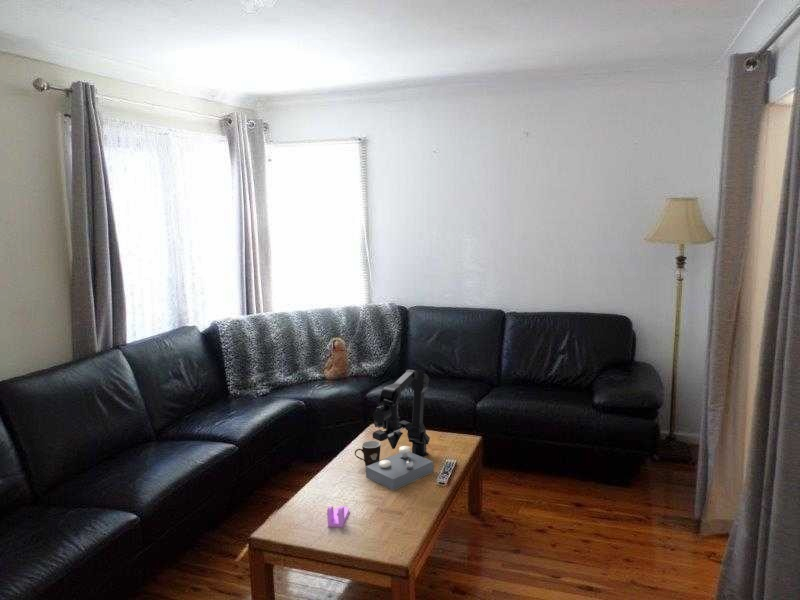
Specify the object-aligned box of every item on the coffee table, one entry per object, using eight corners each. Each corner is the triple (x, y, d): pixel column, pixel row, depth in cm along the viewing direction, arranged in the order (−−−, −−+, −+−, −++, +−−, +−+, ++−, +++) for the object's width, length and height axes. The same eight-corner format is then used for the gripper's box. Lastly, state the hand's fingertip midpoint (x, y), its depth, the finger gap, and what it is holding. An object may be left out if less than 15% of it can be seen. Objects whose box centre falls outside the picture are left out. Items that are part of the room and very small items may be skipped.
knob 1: (385, 467, 261) (385, 458, 260) (393, 471, 257) (393, 462, 256) (376, 471, 257) (376, 462, 257) (384, 475, 253) (384, 466, 253)
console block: (405, 460, 274) (405, 450, 273) (433, 472, 261) (433, 461, 260) (366, 477, 258) (365, 466, 257) (393, 490, 245) (393, 479, 244)
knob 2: (405, 453, 268) (404, 445, 268) (413, 457, 264) (412, 448, 264) (396, 457, 265) (396, 448, 264) (404, 460, 261) (404, 451, 260)
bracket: (342, 527, 218) (341, 510, 217) (327, 526, 219) (326, 509, 218) (350, 509, 231) (349, 493, 229) (336, 509, 231) (335, 492, 230)
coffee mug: (382, 460, 274) (381, 440, 272) (380, 469, 266) (379, 448, 264) (358, 460, 275) (357, 440, 274) (354, 468, 267) (353, 447, 265)
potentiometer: (409, 466, 256) (409, 456, 255) (414, 468, 254) (414, 458, 253) (404, 468, 254) (404, 458, 253) (409, 470, 252) (409, 460, 251)
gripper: (395, 405, 269) (397, 437, 271) (363, 416, 256) (365, 450, 259) (411, 411, 260) (413, 443, 263) (380, 423, 248) (382, 457, 251)
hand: (393, 448), depth 259 cm, fingers closed
